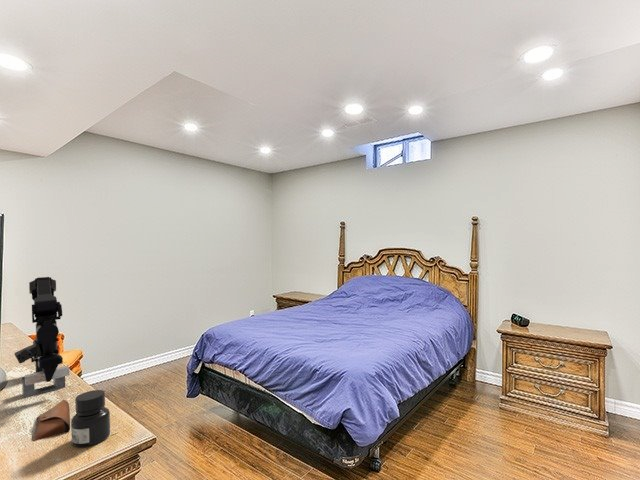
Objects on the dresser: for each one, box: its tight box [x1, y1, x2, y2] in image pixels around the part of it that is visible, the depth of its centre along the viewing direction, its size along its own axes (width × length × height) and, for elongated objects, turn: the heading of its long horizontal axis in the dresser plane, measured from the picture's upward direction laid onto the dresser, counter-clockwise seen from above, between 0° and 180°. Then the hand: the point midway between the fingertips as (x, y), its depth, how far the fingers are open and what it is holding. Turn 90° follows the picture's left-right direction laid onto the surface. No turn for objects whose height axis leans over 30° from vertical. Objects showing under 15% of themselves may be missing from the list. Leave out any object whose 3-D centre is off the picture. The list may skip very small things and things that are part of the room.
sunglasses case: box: [32, 399, 71, 442], centre depth 105 cm, size 18×7×7 cm, turn 37°
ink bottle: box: [70, 389, 111, 448], centre depth 96 cm, size 10×9×12 cm
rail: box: [24, 365, 70, 386], centre depth 122 cm, size 3×12×3 cm, turn 135°
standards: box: [21, 375, 66, 399], centre depth 129 cm, size 5×12×6 cm, turn 135°
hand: (47, 380), depth 122 cm, fingers closed on rail, 3 cm apart
